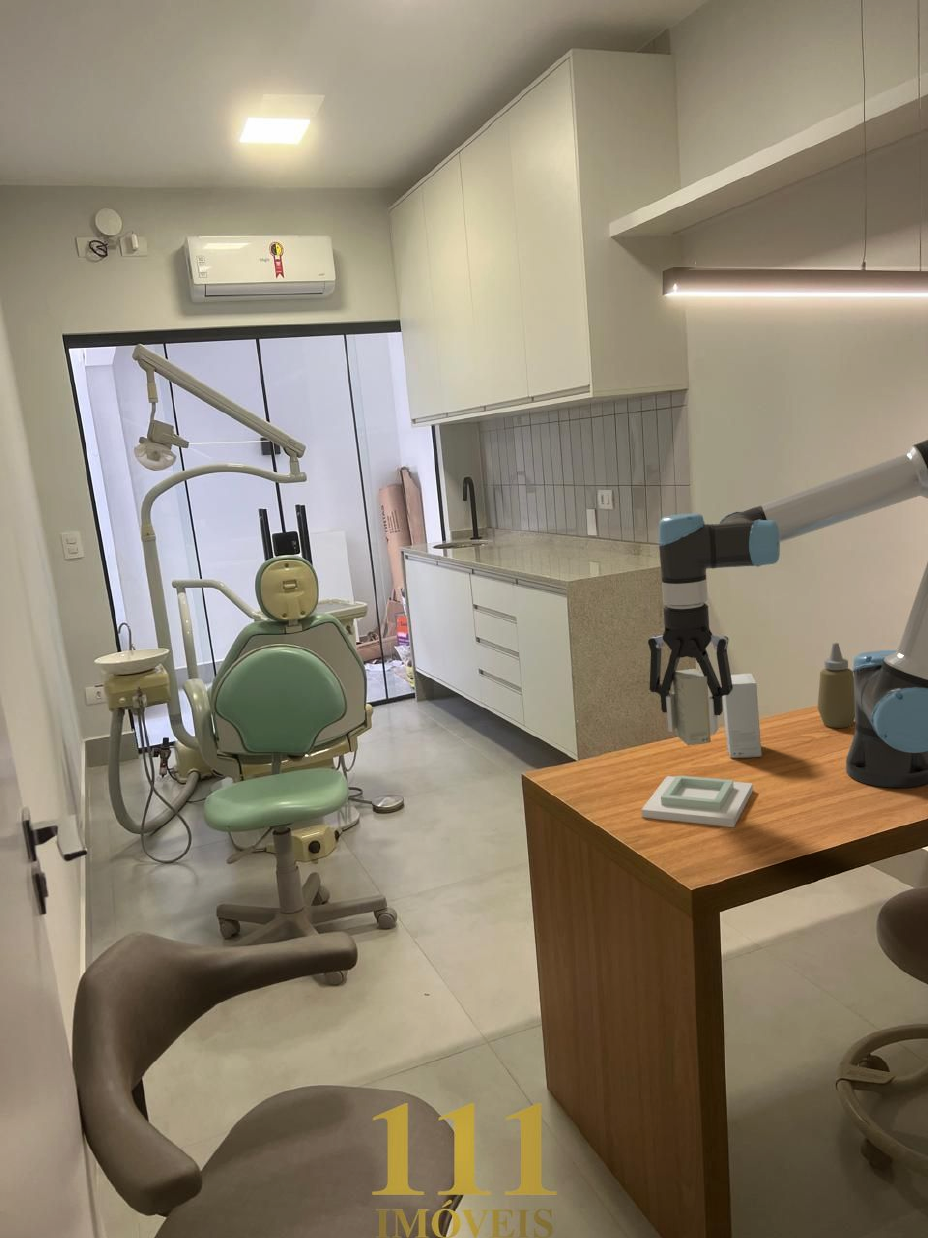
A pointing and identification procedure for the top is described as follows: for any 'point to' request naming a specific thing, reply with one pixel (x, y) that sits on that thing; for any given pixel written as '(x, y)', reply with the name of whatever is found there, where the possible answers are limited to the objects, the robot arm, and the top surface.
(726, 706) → the skincare box
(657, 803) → the collar plate
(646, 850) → the top surface
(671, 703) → the robot arm
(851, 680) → the squeeze bottle
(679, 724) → the skincare box
